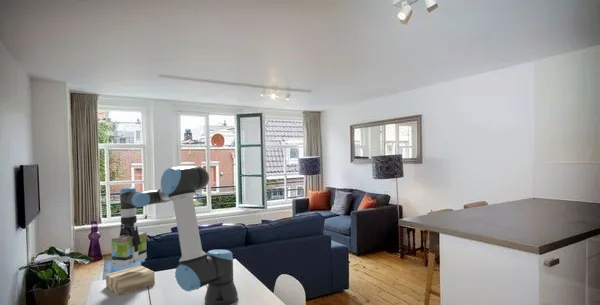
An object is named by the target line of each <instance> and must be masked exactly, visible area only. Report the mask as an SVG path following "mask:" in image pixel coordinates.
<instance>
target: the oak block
mask: <svg viewBox="0 0 600 305" xmlns="http://www.w3.org/2000/svg"><path fill="white" fill-rule="evenodd" d="M155 280H156V278H155V271H154V270H151V269H149V268H147V267H145V266H143V265H140V264H139V265H136V266H133V267H129V268H128V267H127V268H124V269H122V270H118V271H114V272H110V273H105V285H106V286H105V287H106V288H107V289H109V290H110V291H111V290H112V293H114V294H116V295H117V296H122V295H124V294H128V293H131V292H133V291H137V290H140V289H144V288H146V287H150V286H154V285H155V284H156V281H155Z"/></svg>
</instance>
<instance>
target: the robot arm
mask: <svg viewBox="0 0 600 305" xmlns="http://www.w3.org/2000/svg"><path fill="white" fill-rule="evenodd" d="M209 182H210V174H209V172H208V170H207V169H205V168H204V167H202V166H199V165H191V166H173V167H168V168H166V169H165V170H164V171H163V173H162V176H161V179H160V187H161V188H159V189H153V190H145V191H143V190H142V191H137V189H136V188H135V187H134V186H131V187H130V186H129V187H122V188H120V190H119V194H120V195H119V199H120V201H119V202H120V231H119V235H118V236H121V235H126V234H128V235H130V237H133V239H132V242H133V245H132V251H133V259H134V258H137V257H139V256H138V245H139V244H141V242H140V238H139V234H138V232H139V231H138V229H139V228H138V225H135V224H136V223H137V222H138V221H137V219H138V218H137V217H138V216H137V208H142V207H146V206H149V205H155V204H164V203H168V202H172V203H173V209H174V217H175V222H176V227H177V233H178V241H179V246H180V252H181V257H180V259H179V260H178V262H179V264H178V266H177V267H176V268H175V272H174V274H175V279H176V282H177V284H178V286H179V287H180V289H182V290H183V291H185V292H192V291H195V290H199V289H200V288H202V287H205V286H207V289H206V292H205V296H204V304H205V305H229V304H230V305H232V304H234V303H236V301H237V300H238V299H239V293H238V290H237V288H236V284H235V281H234V258H233V252H232V251H230V250H228V249H210V250H208V251H207V252H205V251H204V250H203V248H202V240H201V236H200V230H199V225H198V220H197V213H196V209H195V208H196V207H195V202H194V197H195V196H196V192H197V191H199V190H202V189H204V188H206V187H207V185H208V184H209Z"/></svg>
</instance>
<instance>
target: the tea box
mask: <svg viewBox="0 0 600 305" xmlns="http://www.w3.org/2000/svg"><path fill="white" fill-rule="evenodd" d="M138 234H139V238H140V242H141V244H139V245H138V256H139V257H137V258H134V259H133V251H132V245H133V242H132V239H133V237H130V235H128V234H126V235H121V236H119V235H118V236H115V237H113V238H112V237H111V267H118V268H119V267H120V268H121V267H122V268H123V267H124V268H128V267H130V266H131V265H133V264H136V263H139V262H141V261H143V260H146V259H147V258H148V257H147V256H148V255H147V254H148V253H147V252H148V251H147V250H148V248H147V247H148V246H147V239H148V238H147V236H148V235H147V232H142V231H141V232H139V231H138Z"/></svg>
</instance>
